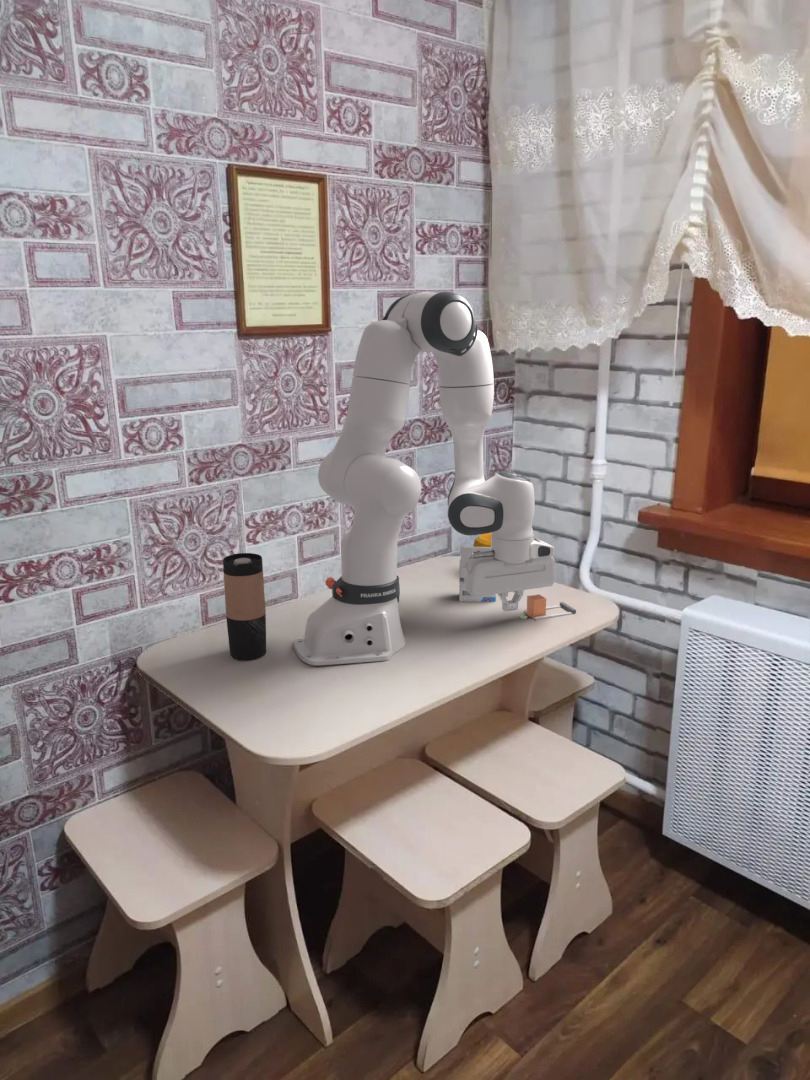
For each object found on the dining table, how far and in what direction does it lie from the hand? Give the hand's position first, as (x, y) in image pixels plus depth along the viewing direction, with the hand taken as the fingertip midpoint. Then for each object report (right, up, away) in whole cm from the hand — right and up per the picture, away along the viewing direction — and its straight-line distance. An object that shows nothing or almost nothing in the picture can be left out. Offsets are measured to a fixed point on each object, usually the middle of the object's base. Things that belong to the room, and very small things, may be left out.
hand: (510, 609), depth 171 cm
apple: (0, +4, +30) cm, 30 cm away
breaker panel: (+6, -2, +8) cm, 10 cm away
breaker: (+6, -2, +3) cm, 7 cm away
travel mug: (-54, -8, -13) cm, 56 cm away
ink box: (-6, 0, +14) cm, 15 cm away
